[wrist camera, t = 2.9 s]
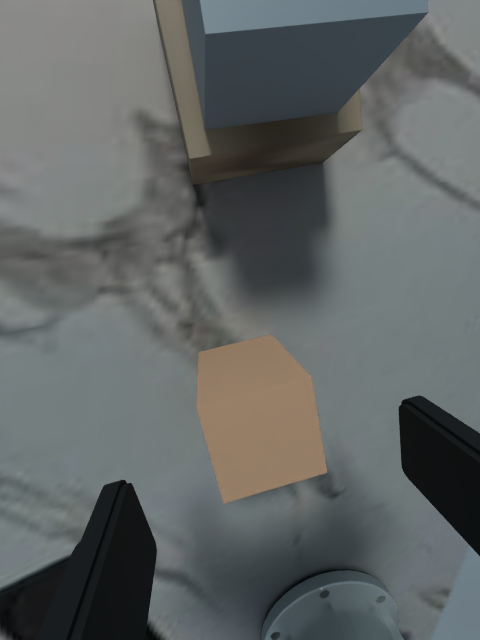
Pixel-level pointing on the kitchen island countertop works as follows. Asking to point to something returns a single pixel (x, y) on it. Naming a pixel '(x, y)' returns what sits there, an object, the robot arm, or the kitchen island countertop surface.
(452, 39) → the kitchen island countertop surface
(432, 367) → the kitchen island countertop surface
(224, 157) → the light brown wooden plinth
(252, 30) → the slate-grey cube
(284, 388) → the peach rectangular block
